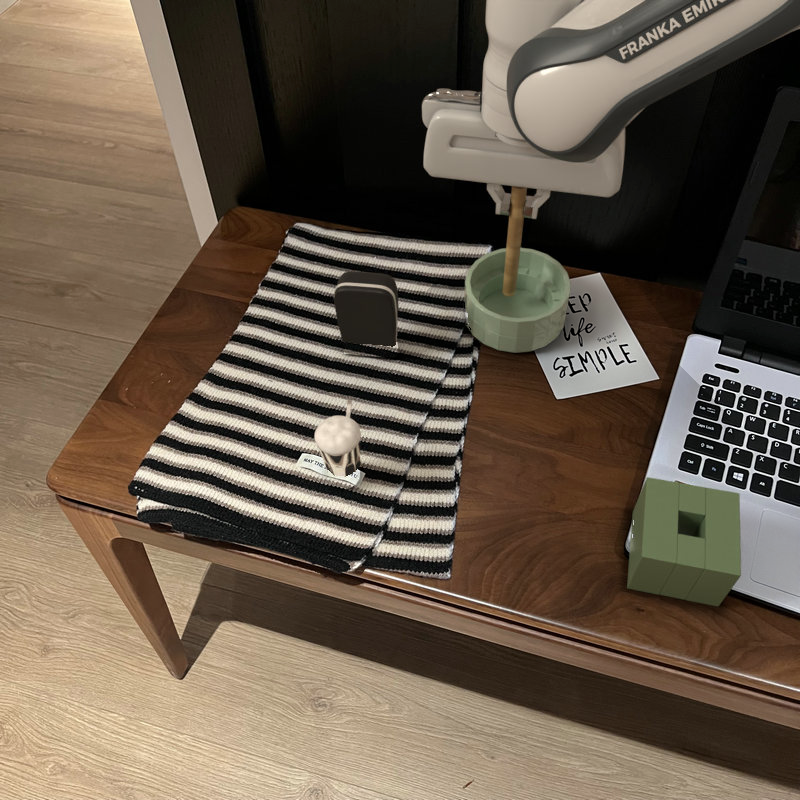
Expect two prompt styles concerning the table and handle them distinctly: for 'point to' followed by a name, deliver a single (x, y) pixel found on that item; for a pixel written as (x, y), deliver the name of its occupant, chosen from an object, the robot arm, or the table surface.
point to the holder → (685, 542)
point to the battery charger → (367, 308)
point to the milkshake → (339, 443)
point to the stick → (514, 240)
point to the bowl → (517, 301)
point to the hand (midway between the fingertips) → (517, 213)
